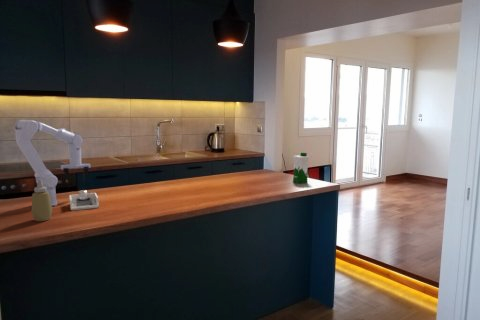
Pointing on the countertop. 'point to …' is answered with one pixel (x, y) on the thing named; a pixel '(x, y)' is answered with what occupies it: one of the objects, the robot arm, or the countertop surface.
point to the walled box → (94, 205)
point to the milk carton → (300, 168)
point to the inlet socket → (83, 202)
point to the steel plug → (83, 195)
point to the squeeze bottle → (41, 203)
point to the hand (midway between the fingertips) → (76, 181)
